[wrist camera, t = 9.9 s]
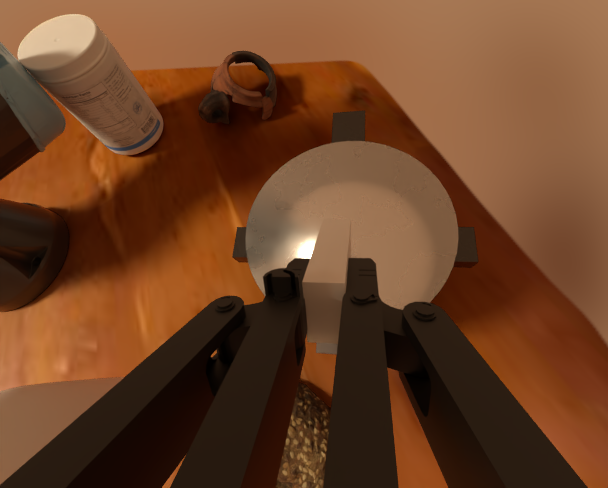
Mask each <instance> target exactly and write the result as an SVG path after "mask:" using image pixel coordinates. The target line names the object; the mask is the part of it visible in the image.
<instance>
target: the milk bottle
mask: <svg viewBox="0 0 608 488" xmlns="http://www.w3.org/2000/svg"><path fill="white" fill-rule="evenodd" d="M123 378H124V377H115V378H102V379H89V380H76V381H65V382H53V383H43V384H35V385H27V386H21V387H16V388H11V389H7V390H4V391H0V484H2V483H3V482H4V481H5V480H6V479H7V478H8V477H10V476H11V475H12V474H13V473H14V472H15V471H17V470H18V469H19V468H20V467H21V466H22V465H24V464H25V463H26V462H27V461H28V460H29V459H30V458H32V457H33V456H34V455H35V454H36V453H37V452H39V451H40V450H41V449H42V448H43V447H44V446H46V445H47V444H48V443H49V442H50V441H51V440H52V439H54V438H55V437H56V436H57V435H58V434H59V433H61V432H62V431H63V430H64V429H65V428H66V427H68V426H69V425H70V424H71V423H72V422H73V421H74V420H76V419H77V418H78V417H79V416H80V415H81V414H83V413H84V412H85V411H86V410H87V409H88V408H90V407H91V406H92V405H93V404H94V403H95V402H96V401H98V400H99V399H100V398H101V397H102V396H103V395H105V394H106V393H107V392H108V391H109V390H110V389H112V388H113V387H114V386H115V385H116V384H117V383H119V382H120V381H121V380H122V379H123Z"/></svg>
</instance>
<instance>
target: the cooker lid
mask: <svg viewBox="0 0 608 488" xmlns="http://www.w3.org/2000/svg"><path fill="white" fill-rule="evenodd" d="M323 219H351V258H371V259H372V260H373V261H374V262H375V263H376V271H377V281H378V292H379V297H380V299H381V300H382V301H383V302H384V303H385V304H387V305H389V306H391V307H394V308H397V309H401V310H403V309H404V307H405V306H406V305H407V304H409V303H412V302H428V303H430V302H431V301H432V300H433V298H434V297H435V296H436V295H437V294H438V293H439V291H440V290H441V288H442V287H443V285H444V284H445V282H446V281H447V279H448V277H449V274H450V272H451V270H452V268H453V265H454V261H455V258H456V254H457V247H458V223H457V218H456V213H455V210H454V207H453V204H452V201H451V199H450V197H449V195H448V193H447V191H446V190H445V188H444V187H443V185H442V184H441V182H440V181H439V180H438V178H437V177H436V176H435V175H434V174H433V173H432V172H431V171H430V170H429V169H428V168H427V167H426V166H424V165H423V164H422V163H421V162H420V161H418V160H417V159H415V158H413V157H412V156H410V155H409V154H407V153H404V152H402V151H400V150H398V149H396V148H393V147H390V146H387V145H383V144H378V143H374V142H365V111H353V112H340V113H333V127H332V143H330V144H326V145H322V146H319V147H316V148H313V149H311V150H308V151H306V152H304V153H302V154H300V155H298V156H296V157H295V158H293V159H291V160H290V161H289V162H287V163H286V164H284V165H283V166H282V167H281V168H280V169H278V170H277V171H276V172H275V173H274V174H273V175H272V176H271V177H270V179H269V180H268V181H267V182H266V183H265V185H264V186H263V188H262V189H261V190H260V192H259V193H258V195H257V197H256V199H255V201H254V203H253V206H252V208H251V211H250V214H249V218H248V222H247V227H246V238H245V239H246V253H247V258H248V263H249V266H250V269H251V272H252V275H253V277H254V279H255V281H256V283H257V285H258V287H259V288H260V289H261V291H262V292H263V294H264V295H265V288H264V282H263V276H264V275H265V274H266V273H267V272H269V271H271V270H274V269H278V268H286V267H287V265H288V263H289V262H291V261H292V260H293V259H294V258H310V257H311V254H312V251H313V248H314V245H315V242H316V239H317V236H318V233H319V230H320V227H321V224H322V221H323ZM265 296H266V295H265Z"/></svg>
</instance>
